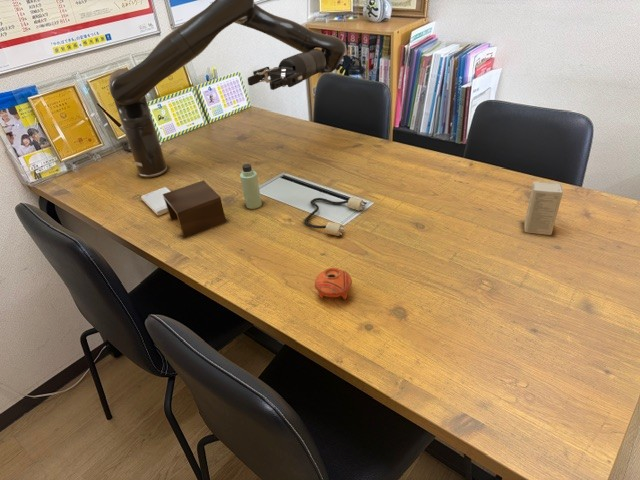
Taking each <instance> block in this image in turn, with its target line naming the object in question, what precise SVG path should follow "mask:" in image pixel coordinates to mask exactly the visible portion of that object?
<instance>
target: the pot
mask: <svg viewBox="0 0 640 480" xmlns="http://www.w3.org/2000/svg"><path fill="white" fill-rule="evenodd" d="M352 284H353V280H352V277H351V274H349V273H348V272H346V271H345V270H343V269H339V268H338V267H329V268H326V269H325V270H323V271H321V272H320V273H319V274H317V276H316V277H315V279H314V287H315V290H317V292H318V295H319V297H320V298H321V299H323V298H324V296H325V297H328V298H337V297H340V296H341V297H342V299H343V300H344V301H345V300H346V299H347V297H348V291H350V289H351V287H352Z"/></svg>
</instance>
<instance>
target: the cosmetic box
mask: <svg viewBox="0 0 640 480" xmlns="http://www.w3.org/2000/svg"><path fill="white" fill-rule="evenodd" d="M531 187H532V188H531V191H530V194H529V195H530V196H529V200H528V205H527V209H526V214H525V219H524V222H523V223H524V224H523V225H524V228H523V229H524V233H529V234H538V235H547V236H548V235H549V236H552V235H553V231H554V227H555V224H556V219H557V216H558V212H559V208H560V205H561V202H562V201H561V200H562V197H563V194H564V190H563V185H562V183H560V182H548V181H547V182H546V181H533V182H532V186H531Z"/></svg>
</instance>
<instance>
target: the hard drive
mask: <svg viewBox="0 0 640 480" xmlns="http://www.w3.org/2000/svg"><path fill="white" fill-rule="evenodd" d="M171 191H172V190H170V189H169V188H168V187H167V186H163V187H161V188H159V189H156V190H153V191H150V192H148V193H146V194H143V195H141V196H140V199H141V201H142V202H144V204H145V205H146V206H147V207H148V208H150V209H151V211H152V212H153V213H154V214H155V215H157V217H159V216H163V215H164V214H167V213H168V209H167V206H166V203H165V200H164V197H163V194H165V193H168V192H171Z"/></svg>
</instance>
